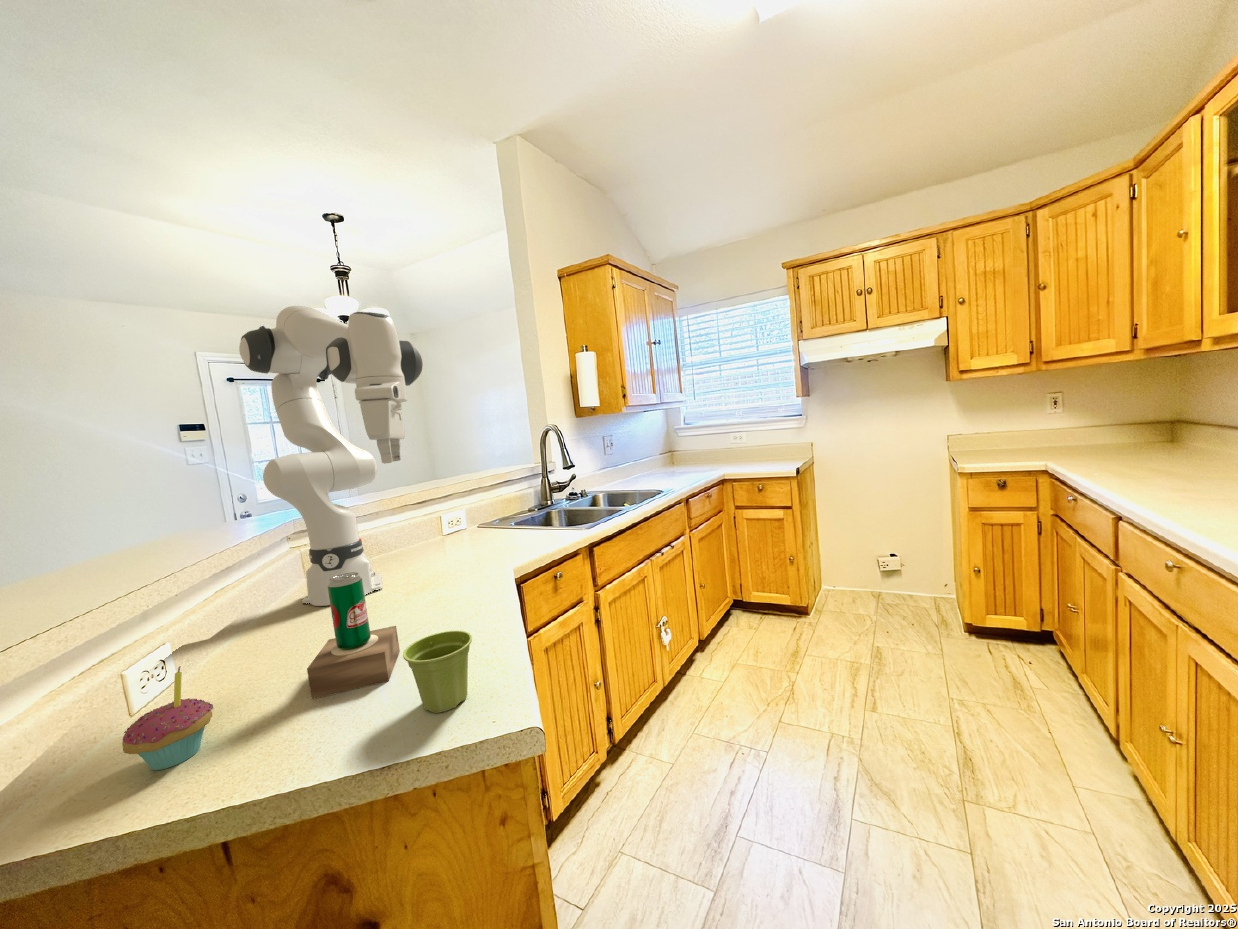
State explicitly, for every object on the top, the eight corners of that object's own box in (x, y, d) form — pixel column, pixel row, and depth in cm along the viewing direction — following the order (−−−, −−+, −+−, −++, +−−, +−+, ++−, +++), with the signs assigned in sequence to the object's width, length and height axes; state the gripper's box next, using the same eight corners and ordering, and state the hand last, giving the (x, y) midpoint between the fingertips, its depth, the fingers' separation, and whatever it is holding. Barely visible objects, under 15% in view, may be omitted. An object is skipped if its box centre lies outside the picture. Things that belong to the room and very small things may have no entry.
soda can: (355, 652, 74) (344, 581, 73) (329, 651, 75) (318, 581, 74) (378, 637, 79) (368, 570, 78) (353, 637, 80) (343, 571, 79)
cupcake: (226, 727, 66) (211, 648, 65) (206, 763, 58) (189, 674, 57) (145, 752, 62) (129, 668, 61) (113, 794, 54) (93, 699, 53)
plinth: (333, 666, 81) (328, 638, 81) (399, 651, 85) (395, 624, 84) (311, 699, 71) (306, 667, 70) (388, 681, 74) (384, 650, 74)
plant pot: (413, 694, 70) (405, 639, 69) (477, 676, 73) (470, 624, 72) (408, 729, 61) (399, 668, 60) (481, 708, 64) (473, 649, 63)
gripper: (376, 399, 100) (385, 461, 101) (351, 389, 80) (363, 466, 82) (407, 397, 102) (415, 458, 103) (390, 387, 82) (401, 462, 83)
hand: (392, 462), depth 92 cm, fingers open, 8 cm apart
